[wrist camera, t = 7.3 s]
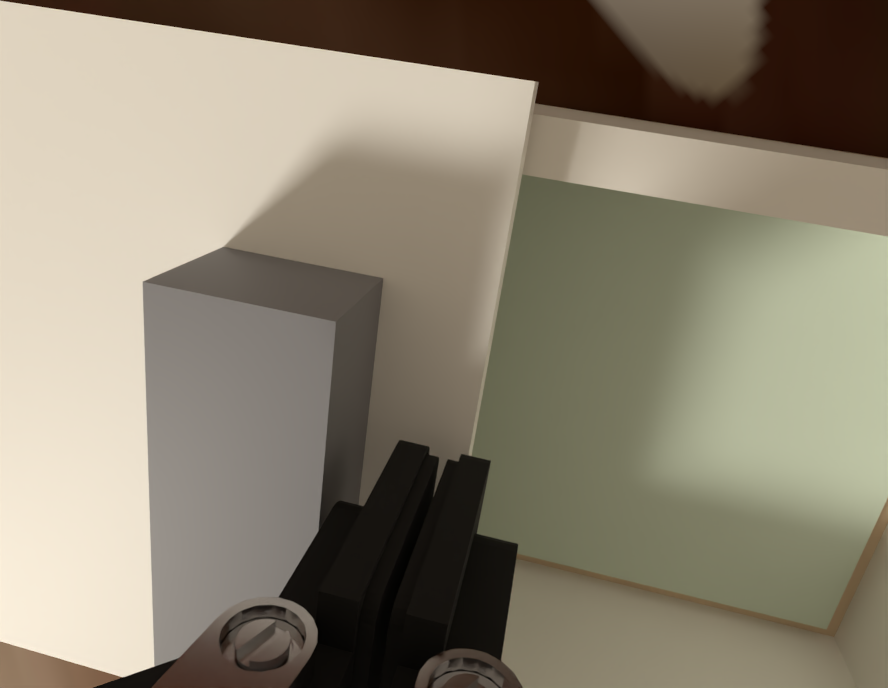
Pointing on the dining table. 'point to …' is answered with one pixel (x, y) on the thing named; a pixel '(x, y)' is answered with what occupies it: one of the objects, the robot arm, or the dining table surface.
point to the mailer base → (691, 410)
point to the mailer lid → (225, 310)
